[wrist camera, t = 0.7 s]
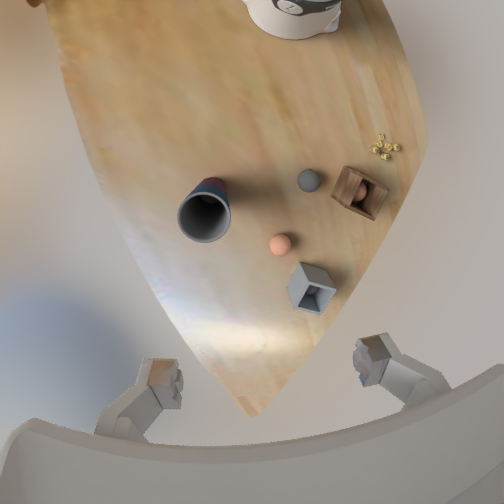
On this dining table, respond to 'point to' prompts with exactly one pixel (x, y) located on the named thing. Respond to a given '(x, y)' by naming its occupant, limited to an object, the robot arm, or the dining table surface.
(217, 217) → the cup
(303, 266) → the grey square open box
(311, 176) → the charcoal ball
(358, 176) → the walnut tube
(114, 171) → the dining table surface
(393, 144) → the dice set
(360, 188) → the terracotta ball
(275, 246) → the terracotta ball
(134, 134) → the dining table surface
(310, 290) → the charcoal ball
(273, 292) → the dining table surface
